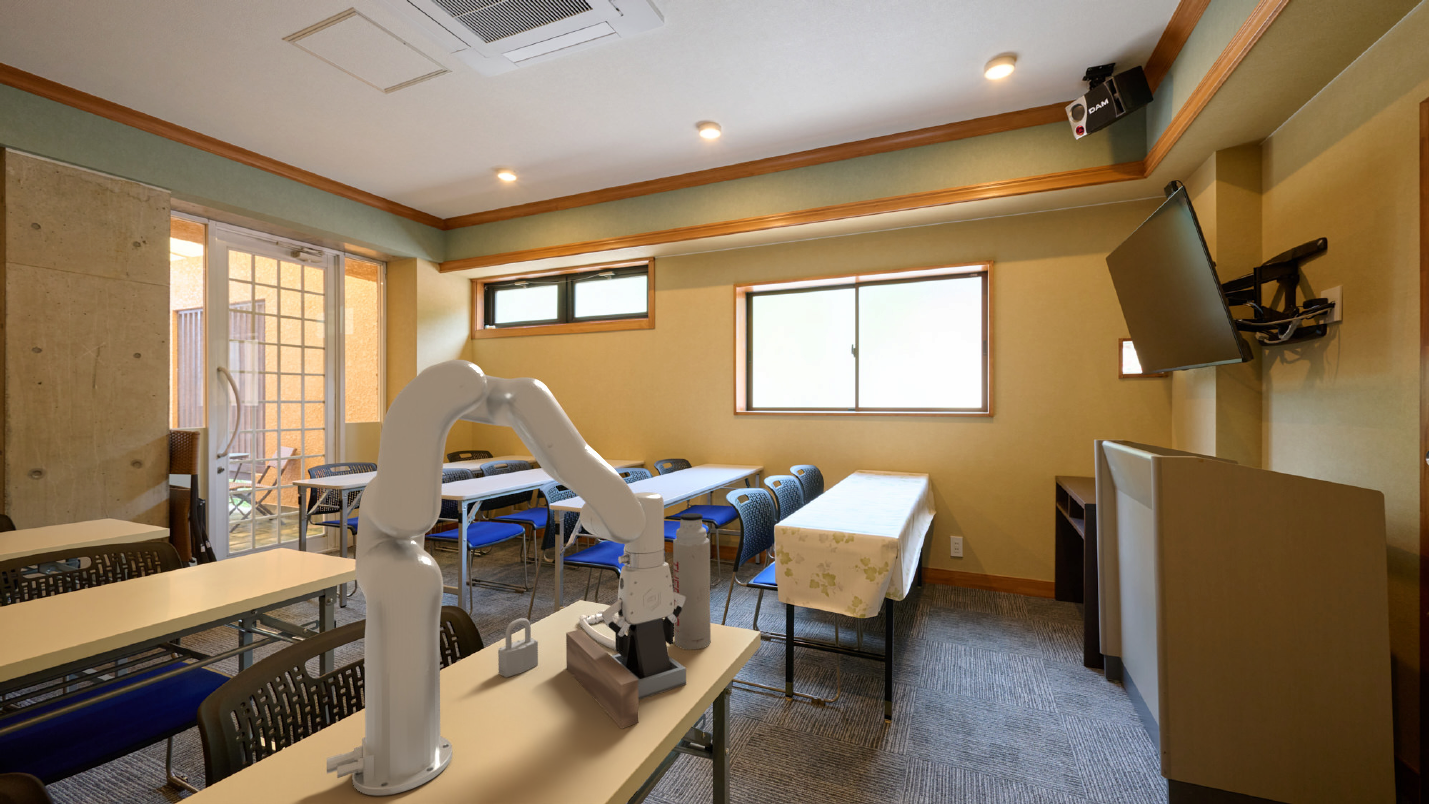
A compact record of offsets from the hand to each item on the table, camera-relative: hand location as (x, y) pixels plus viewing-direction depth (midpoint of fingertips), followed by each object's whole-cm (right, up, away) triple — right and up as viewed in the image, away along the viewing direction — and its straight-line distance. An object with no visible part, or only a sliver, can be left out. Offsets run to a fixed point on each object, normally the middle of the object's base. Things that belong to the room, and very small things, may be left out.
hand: (645, 648), depth 108 cm
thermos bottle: (+8, -6, +16) cm, 19 cm away
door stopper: (0, -5, 0) cm, 5 cm away
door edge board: (-8, -6, -5) cm, 11 cm away
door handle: (-10, -7, +21) cm, 24 cm away
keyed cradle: (0, -6, 0) cm, 6 cm away
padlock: (-26, -6, +4) cm, 27 cm away
